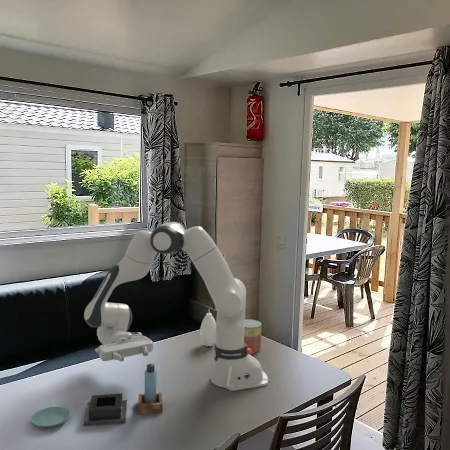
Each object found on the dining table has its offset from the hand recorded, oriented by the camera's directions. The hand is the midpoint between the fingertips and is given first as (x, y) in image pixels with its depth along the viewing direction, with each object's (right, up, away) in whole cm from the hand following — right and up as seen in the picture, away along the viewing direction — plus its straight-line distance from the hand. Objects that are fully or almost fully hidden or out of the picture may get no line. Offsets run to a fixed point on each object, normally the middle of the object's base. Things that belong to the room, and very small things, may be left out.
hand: (134, 356), depth 166 cm
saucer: (-23, -16, -19) cm, 34 cm away
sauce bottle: (+25, -9, +48) cm, 54 cm away
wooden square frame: (+7, -15, -8) cm, 18 cm away
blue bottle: (+7, -15, -8) cm, 18 cm away
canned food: (+43, -10, +46) cm, 64 cm away
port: (-7, -15, -14) cm, 22 cm away
